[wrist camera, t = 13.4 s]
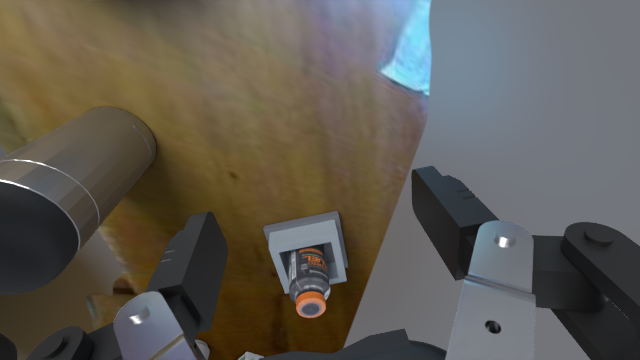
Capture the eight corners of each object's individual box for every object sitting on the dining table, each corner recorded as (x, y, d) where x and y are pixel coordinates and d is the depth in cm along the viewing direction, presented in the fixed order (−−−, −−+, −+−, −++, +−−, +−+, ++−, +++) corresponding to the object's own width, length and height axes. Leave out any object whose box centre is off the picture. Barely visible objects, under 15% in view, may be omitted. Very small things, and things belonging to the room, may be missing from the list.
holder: (282, 276, 54) (281, 297, 50) (263, 225, 47) (261, 245, 44) (347, 263, 54) (352, 283, 50) (337, 210, 47) (342, 229, 44)
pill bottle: (330, 242, 49) (341, 300, 40) (314, 266, 52) (321, 326, 42) (297, 231, 47) (300, 290, 38) (282, 257, 50) (282, 318, 40)
